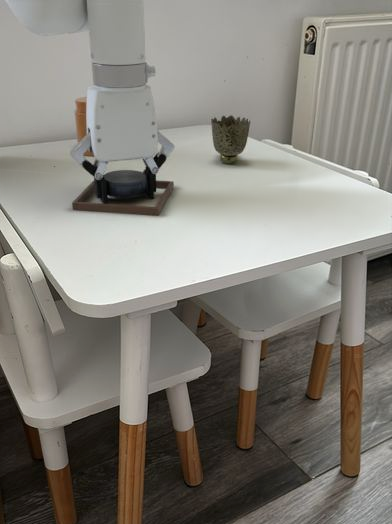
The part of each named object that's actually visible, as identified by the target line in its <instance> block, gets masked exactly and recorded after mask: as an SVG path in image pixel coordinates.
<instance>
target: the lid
mask: <svg viewBox="0 0 392 524" xmlns="http://www.w3.org/2000/svg"><path fill="white" fill-rule="evenodd" d="M103 175H104V178H105V179H106V182H107V195H108V196H109V197H112V198H117V199H132V198H137V197H142V196H144V195H145V194H146V193H147V192H148V176H147V175H146V174H145V173H143V171H140V170H133V169H119V170H113V171H108V172H106V173H104V174H103Z"/></svg>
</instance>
